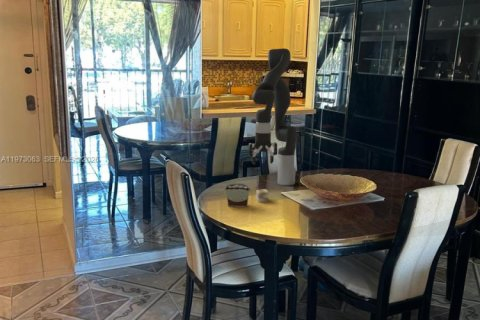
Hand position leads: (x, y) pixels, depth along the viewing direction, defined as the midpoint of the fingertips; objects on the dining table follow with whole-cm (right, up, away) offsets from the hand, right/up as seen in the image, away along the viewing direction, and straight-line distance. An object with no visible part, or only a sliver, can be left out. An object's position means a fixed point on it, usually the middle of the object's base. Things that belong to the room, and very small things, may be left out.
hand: (262, 163), depth 220 cm
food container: (-12, -20, -2) cm, 24 cm away
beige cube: (0, -19, +4) cm, 19 cm away
